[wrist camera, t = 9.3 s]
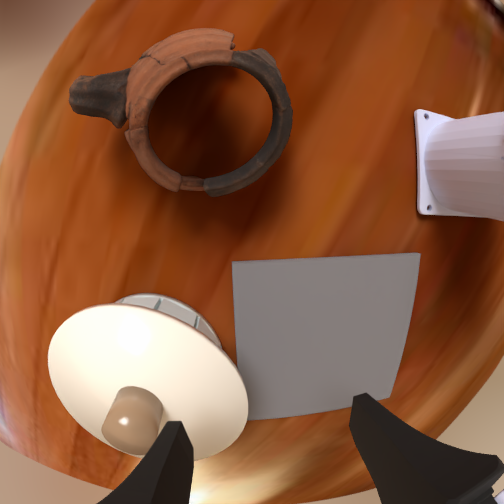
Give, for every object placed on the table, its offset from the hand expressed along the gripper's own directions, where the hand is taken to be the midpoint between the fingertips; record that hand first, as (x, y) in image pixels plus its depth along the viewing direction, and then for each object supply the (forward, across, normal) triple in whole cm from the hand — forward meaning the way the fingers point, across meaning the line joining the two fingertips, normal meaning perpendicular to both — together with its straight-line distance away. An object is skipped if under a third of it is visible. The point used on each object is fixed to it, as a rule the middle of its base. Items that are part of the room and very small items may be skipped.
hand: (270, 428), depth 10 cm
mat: (+10, -5, +3) cm, 12 cm away
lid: (+5, +8, +2) cm, 9 cm away
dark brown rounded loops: (+10, +2, -15) cm, 18 cm away
